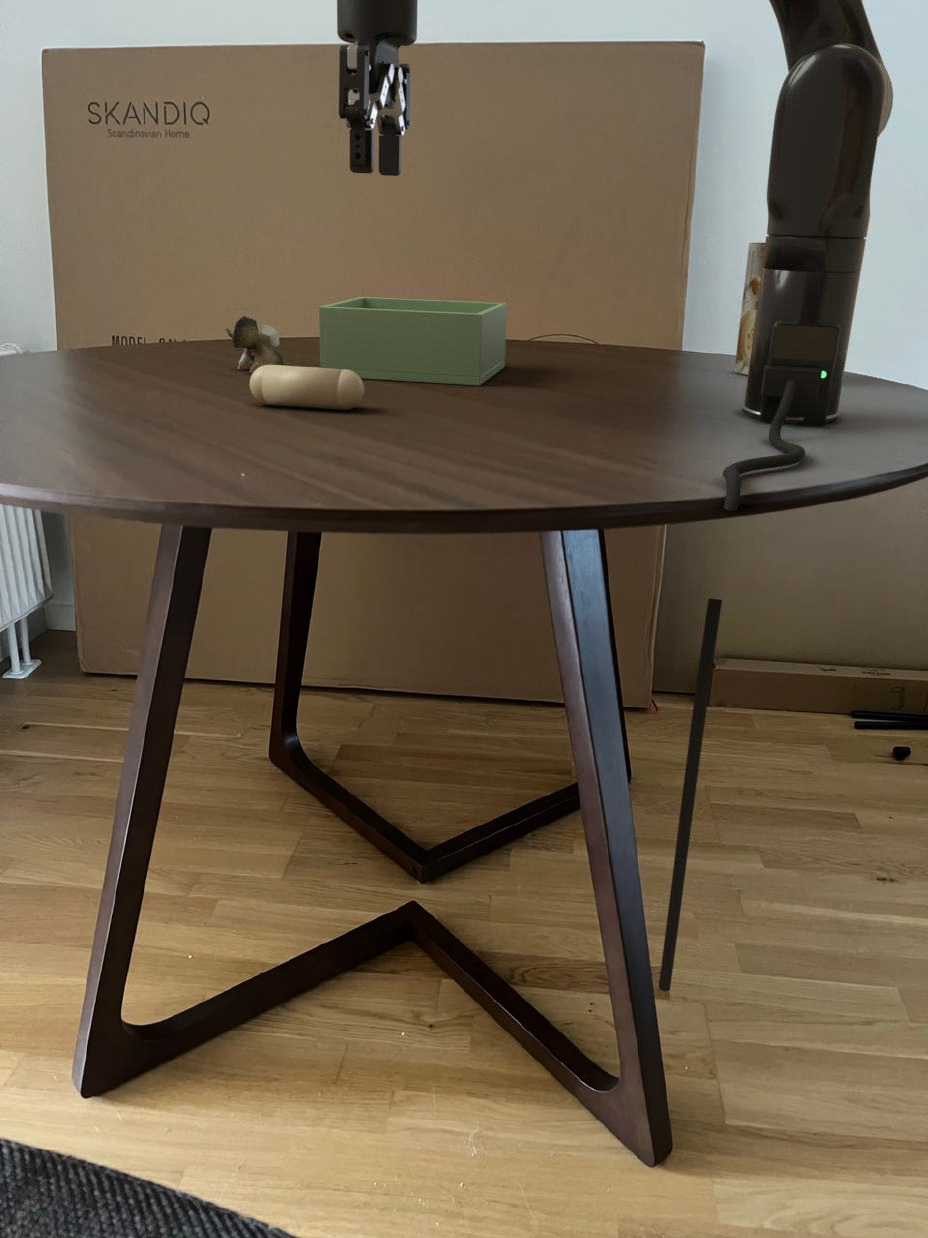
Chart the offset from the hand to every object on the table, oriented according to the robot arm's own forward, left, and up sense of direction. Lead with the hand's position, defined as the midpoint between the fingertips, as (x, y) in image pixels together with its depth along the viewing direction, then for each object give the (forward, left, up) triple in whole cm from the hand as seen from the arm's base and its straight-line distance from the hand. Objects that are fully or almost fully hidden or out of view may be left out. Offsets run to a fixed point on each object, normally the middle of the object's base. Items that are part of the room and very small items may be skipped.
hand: (376, 174), depth 99 cm
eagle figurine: (+13, +20, -22) cm, 33 cm away
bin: (+19, +1, -22) cm, 29 cm away
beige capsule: (-8, +5, -22) cm, 24 cm away
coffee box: (+32, -43, -22) cm, 58 cm away
